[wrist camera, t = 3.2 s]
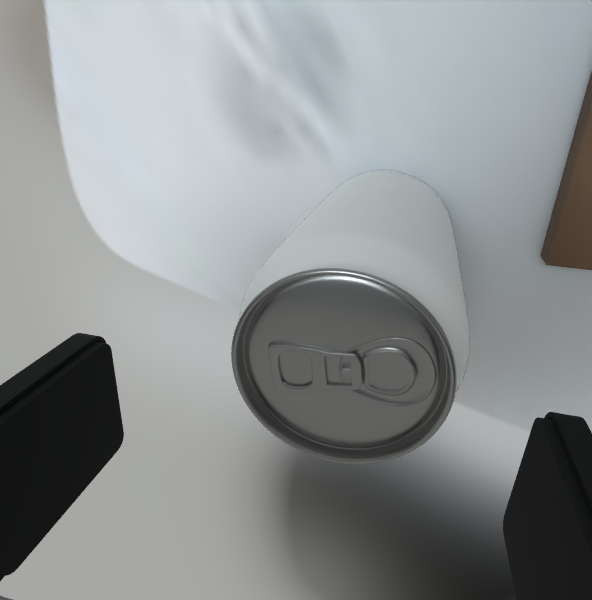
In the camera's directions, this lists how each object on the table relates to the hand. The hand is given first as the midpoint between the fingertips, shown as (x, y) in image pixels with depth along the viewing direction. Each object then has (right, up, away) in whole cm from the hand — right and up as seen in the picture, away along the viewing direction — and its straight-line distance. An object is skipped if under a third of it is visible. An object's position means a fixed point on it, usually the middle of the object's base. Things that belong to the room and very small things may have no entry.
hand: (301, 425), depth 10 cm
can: (+4, +6, +12) cm, 14 cm away
